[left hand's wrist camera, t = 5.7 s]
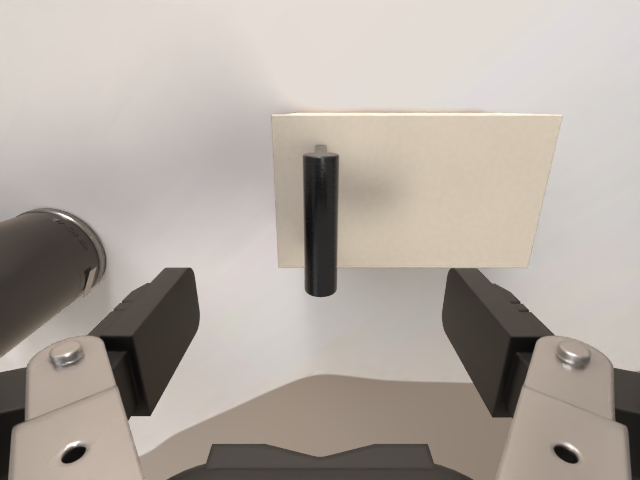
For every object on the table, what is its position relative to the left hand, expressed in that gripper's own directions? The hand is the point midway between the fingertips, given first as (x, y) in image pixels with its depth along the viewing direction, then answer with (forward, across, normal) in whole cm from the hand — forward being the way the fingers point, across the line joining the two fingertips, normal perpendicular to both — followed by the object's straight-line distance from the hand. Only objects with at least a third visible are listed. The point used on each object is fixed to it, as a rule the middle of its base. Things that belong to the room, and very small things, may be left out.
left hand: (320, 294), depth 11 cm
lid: (+14, -6, 0) cm, 15 cm away
